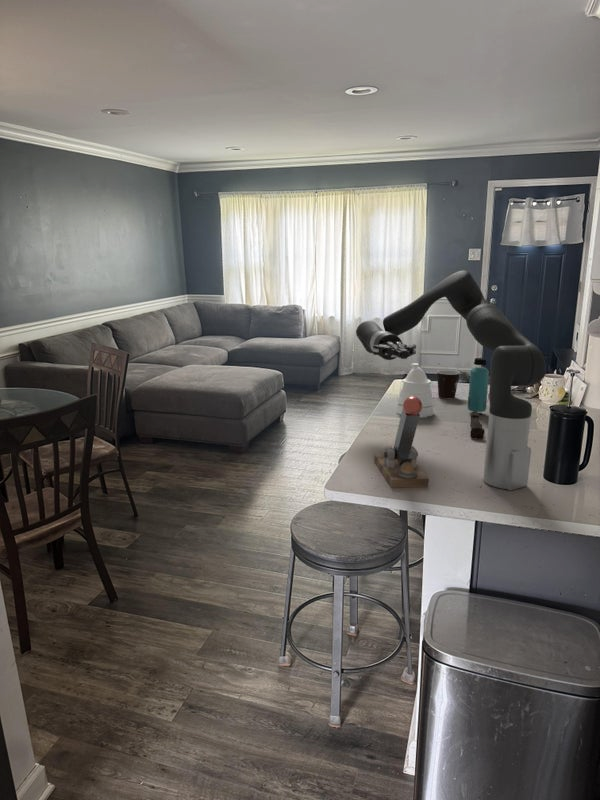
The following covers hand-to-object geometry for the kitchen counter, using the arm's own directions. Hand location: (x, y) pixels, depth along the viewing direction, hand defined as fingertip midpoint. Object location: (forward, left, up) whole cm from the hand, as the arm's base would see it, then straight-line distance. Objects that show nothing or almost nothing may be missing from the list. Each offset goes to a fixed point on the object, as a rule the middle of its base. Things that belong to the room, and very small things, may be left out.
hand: (404, 354), depth 142 cm
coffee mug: (+45, -61, -28) cm, 81 cm away
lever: (-10, +8, -25) cm, 28 cm away
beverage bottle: (+21, -53, -28) cm, 64 cm away
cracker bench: (-10, +8, -28) cm, 31 cm away
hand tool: (+8, -37, -29) cm, 47 cm away
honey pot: (+33, -35, -28) cm, 56 cm away
